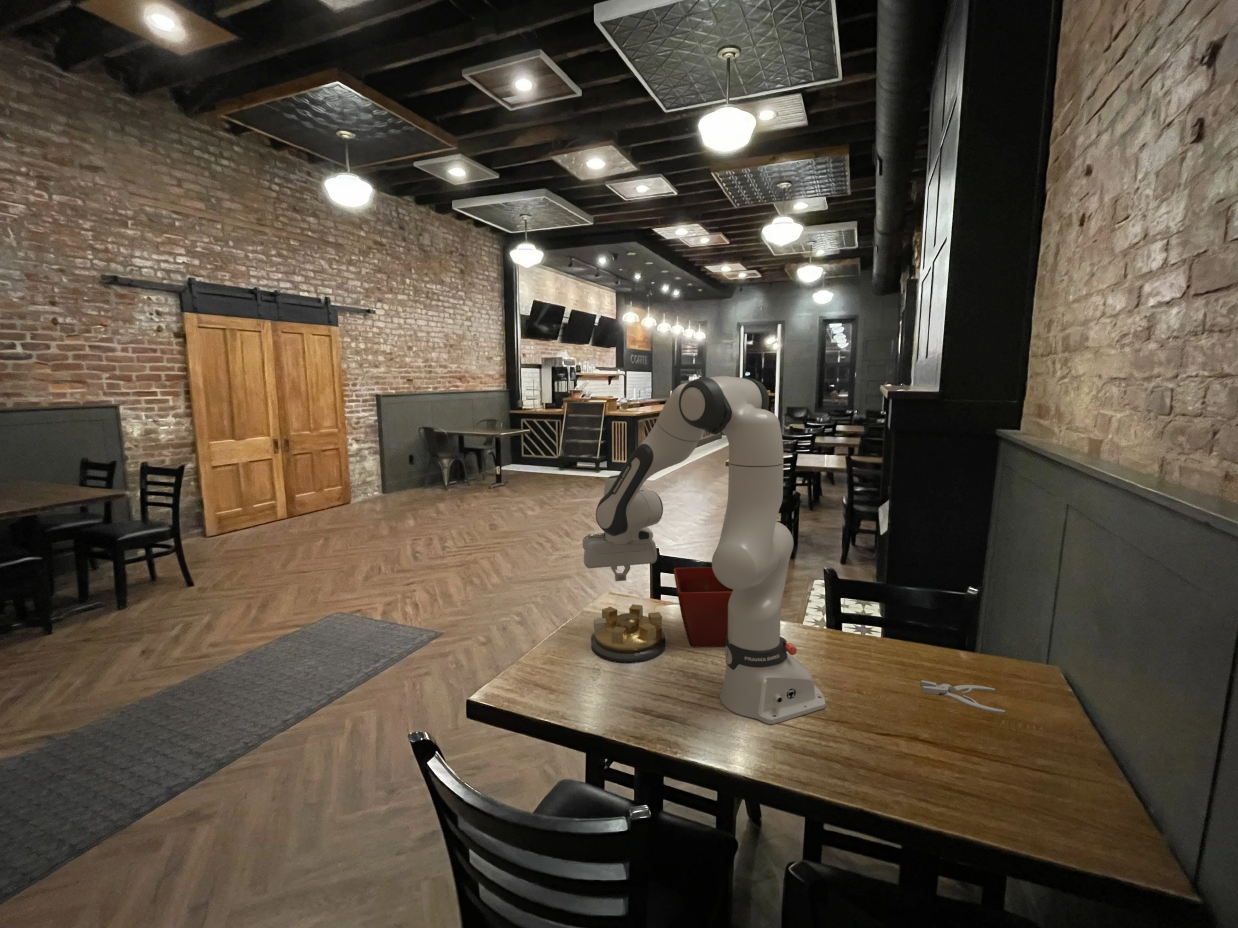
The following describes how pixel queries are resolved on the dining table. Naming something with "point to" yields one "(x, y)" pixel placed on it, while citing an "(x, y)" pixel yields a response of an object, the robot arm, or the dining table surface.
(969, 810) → the dining table surface
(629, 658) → the nut base
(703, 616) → the plant pot
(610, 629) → the ring nut
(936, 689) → the pliers
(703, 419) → the robot arm
